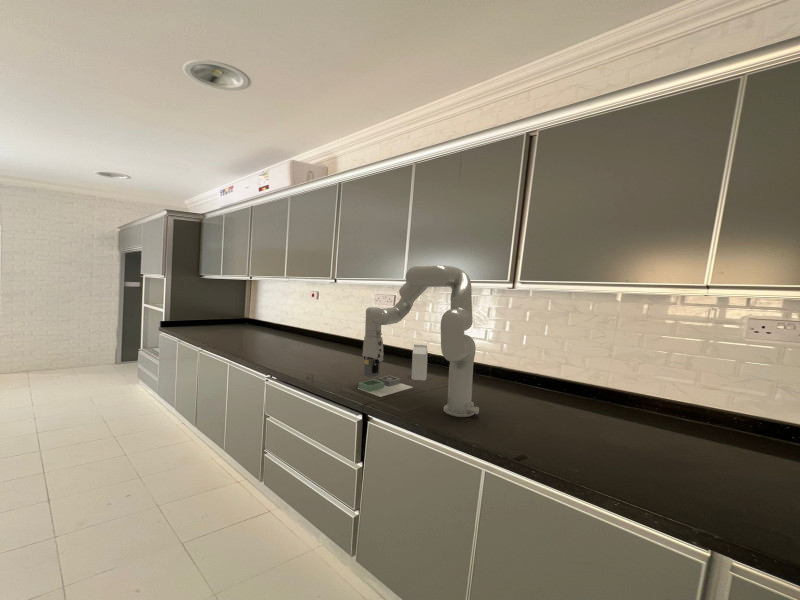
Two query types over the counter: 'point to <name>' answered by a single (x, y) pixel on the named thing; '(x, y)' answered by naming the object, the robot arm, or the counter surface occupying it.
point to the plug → (370, 368)
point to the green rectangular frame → (371, 385)
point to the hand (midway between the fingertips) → (371, 371)
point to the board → (389, 386)
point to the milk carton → (419, 362)
